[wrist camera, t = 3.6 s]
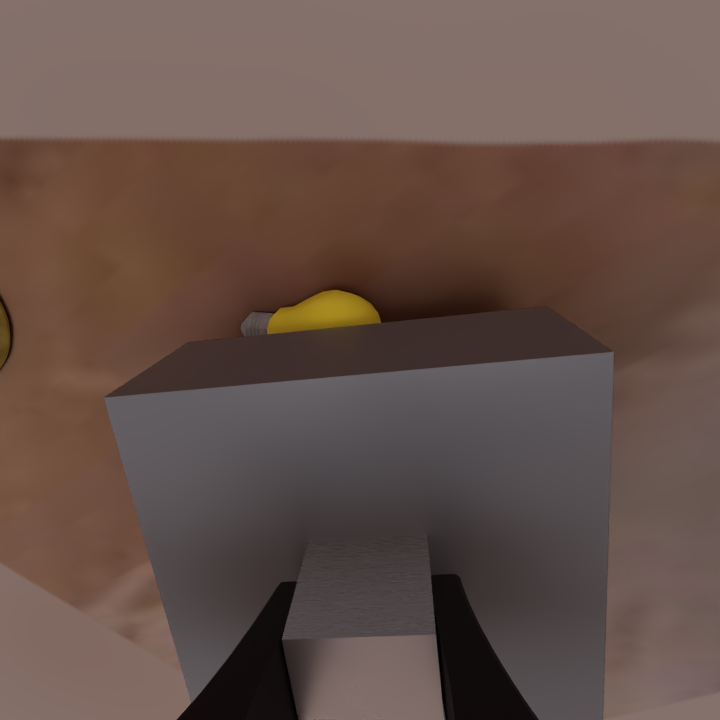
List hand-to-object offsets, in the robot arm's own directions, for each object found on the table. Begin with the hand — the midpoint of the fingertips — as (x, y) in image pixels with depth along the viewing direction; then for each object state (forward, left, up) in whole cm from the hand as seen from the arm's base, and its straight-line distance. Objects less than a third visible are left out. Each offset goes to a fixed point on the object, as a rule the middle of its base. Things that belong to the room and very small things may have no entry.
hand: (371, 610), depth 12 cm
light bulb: (+2, -5, -11) cm, 12 cm away
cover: (0, 0, -6) cm, 6 cm away
